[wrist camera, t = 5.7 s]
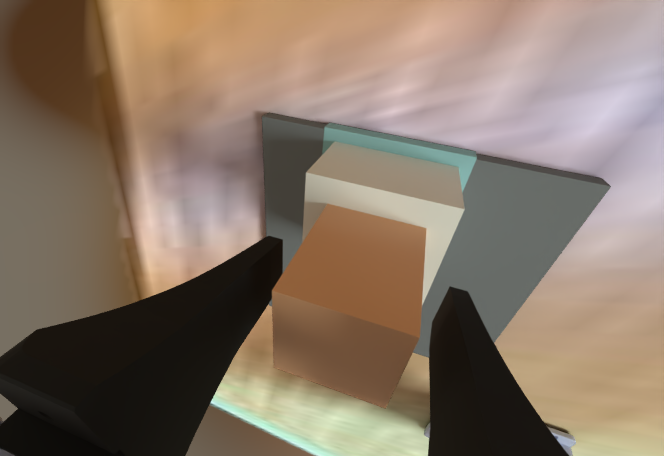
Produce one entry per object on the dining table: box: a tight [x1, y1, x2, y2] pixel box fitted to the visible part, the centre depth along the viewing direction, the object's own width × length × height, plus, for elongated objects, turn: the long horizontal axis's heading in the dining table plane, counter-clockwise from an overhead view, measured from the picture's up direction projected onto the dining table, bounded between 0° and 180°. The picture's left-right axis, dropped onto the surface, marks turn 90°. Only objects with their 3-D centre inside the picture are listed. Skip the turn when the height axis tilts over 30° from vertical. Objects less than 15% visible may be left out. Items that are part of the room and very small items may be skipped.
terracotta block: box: [272, 204, 427, 409], centre depth 11 cm, size 4×4×5 cm
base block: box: [302, 141, 465, 305], centre depth 14 cm, size 6×6×4 cm
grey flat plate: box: [262, 113, 611, 357], centre depth 18 cm, size 16×15×1 cm
